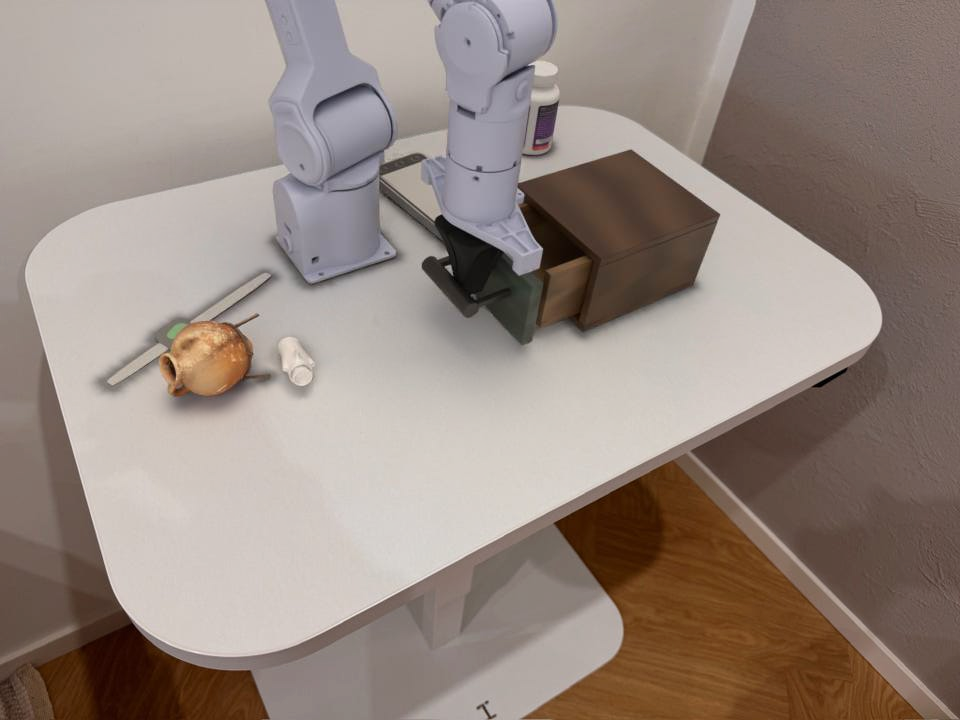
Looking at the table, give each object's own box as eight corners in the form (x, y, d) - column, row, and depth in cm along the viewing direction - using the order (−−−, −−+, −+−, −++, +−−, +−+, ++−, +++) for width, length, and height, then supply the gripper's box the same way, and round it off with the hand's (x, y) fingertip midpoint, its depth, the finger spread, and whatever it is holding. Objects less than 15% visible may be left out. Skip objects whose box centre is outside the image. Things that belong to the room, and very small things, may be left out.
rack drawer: (474, 366, 63) (481, 306, 58) (407, 288, 70) (409, 228, 65) (634, 298, 71) (652, 241, 67) (562, 234, 78) (574, 177, 73)
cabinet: (582, 332, 69) (601, 259, 63) (504, 256, 76) (515, 183, 69) (693, 284, 75) (721, 214, 69) (612, 218, 82) (631, 148, 76)
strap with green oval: (255, 263, 70) (279, 277, 69) (256, 267, 71) (279, 280, 70) (95, 371, 60) (120, 388, 59) (96, 374, 60) (121, 392, 59)
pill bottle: (551, 136, 93) (565, 60, 86) (550, 159, 89) (564, 81, 82) (508, 130, 93) (518, 54, 86) (505, 153, 89) (515, 74, 82)
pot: (246, 377, 64) (285, 379, 60) (156, 405, 59) (192, 409, 54) (229, 311, 63) (268, 307, 59) (136, 333, 58) (171, 331, 53)
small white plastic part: (324, 346, 65) (322, 319, 62) (312, 397, 60) (309, 371, 58) (282, 342, 64) (279, 316, 62) (267, 394, 60) (263, 367, 58)
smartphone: (419, 150, 86) (505, 215, 78) (419, 158, 87) (504, 223, 79) (366, 169, 82) (450, 238, 75) (366, 177, 83) (450, 247, 76)
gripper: (586, 188, 54) (555, 324, 63) (475, 98, 62) (463, 232, 71) (506, 213, 51) (487, 353, 60) (400, 116, 58) (398, 253, 68)
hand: (469, 289), depth 66 cm, fingers closed, pressing on rack drawer
